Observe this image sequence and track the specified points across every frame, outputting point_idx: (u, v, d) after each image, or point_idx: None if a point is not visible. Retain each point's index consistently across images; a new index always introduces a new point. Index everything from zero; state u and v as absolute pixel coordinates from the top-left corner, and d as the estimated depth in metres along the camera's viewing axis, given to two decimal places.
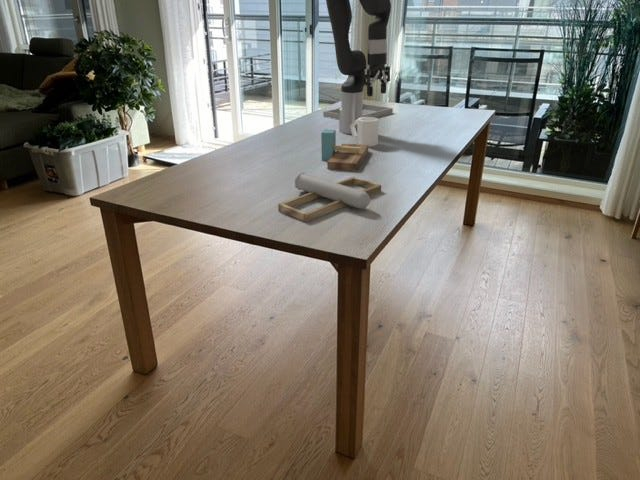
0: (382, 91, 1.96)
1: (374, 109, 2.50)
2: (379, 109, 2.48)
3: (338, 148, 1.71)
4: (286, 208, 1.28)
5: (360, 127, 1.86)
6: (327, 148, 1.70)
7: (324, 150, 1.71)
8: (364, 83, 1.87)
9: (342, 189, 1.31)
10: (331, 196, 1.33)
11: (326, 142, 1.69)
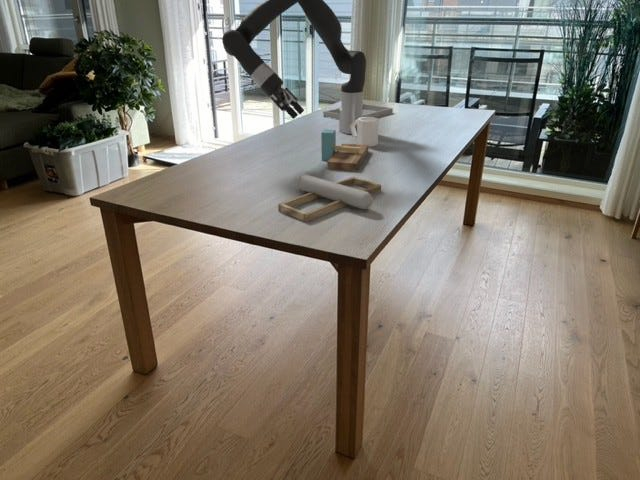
0: None
1: (374, 109, 2.50)
2: (379, 109, 2.48)
3: (338, 148, 1.71)
4: (286, 208, 1.28)
5: (360, 127, 1.86)
6: (327, 148, 1.70)
7: (324, 150, 1.71)
8: None
9: (344, 190, 1.30)
10: (333, 197, 1.33)
11: (326, 142, 1.69)
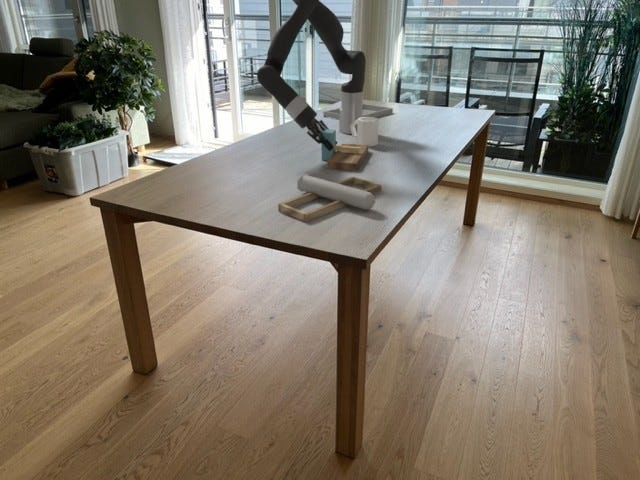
0: None
1: (374, 109, 2.50)
2: (379, 109, 2.48)
3: (338, 148, 1.71)
4: (286, 208, 1.28)
5: (360, 127, 1.86)
6: None
7: (324, 150, 1.71)
8: None
9: (347, 190, 1.30)
10: (335, 197, 1.32)
11: None
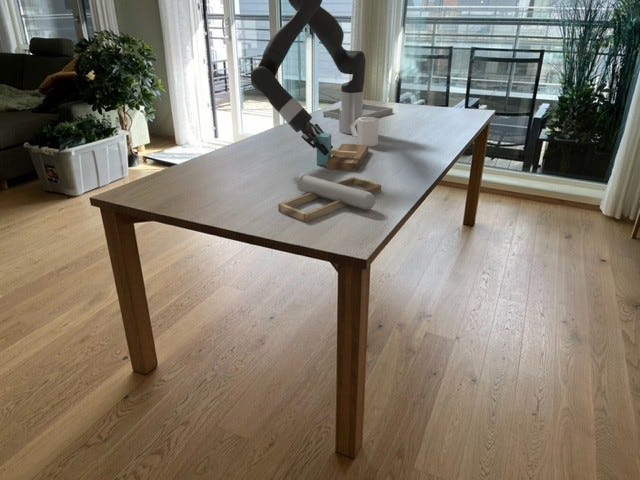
0: None
1: (374, 109, 2.50)
2: (379, 109, 2.48)
3: (334, 152, 1.66)
4: (286, 208, 1.28)
5: (360, 127, 1.86)
6: None
7: (319, 155, 1.65)
8: None
9: (347, 190, 1.30)
10: (335, 197, 1.32)
11: None
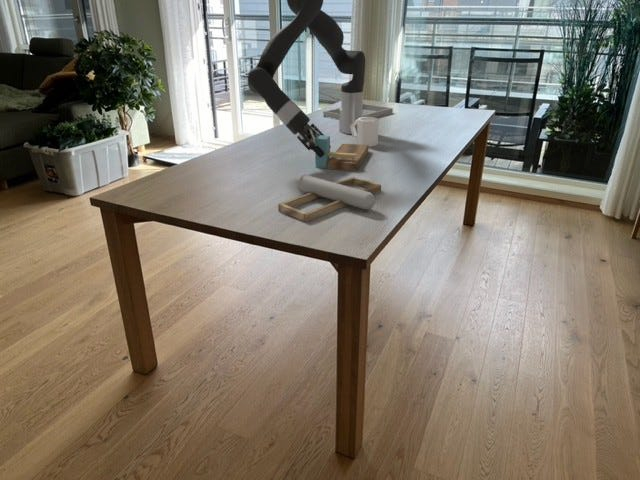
0: None
1: (374, 109, 2.50)
2: (379, 109, 2.48)
3: (333, 155, 1.63)
4: (286, 208, 1.28)
5: (360, 127, 1.86)
6: None
7: (318, 157, 1.63)
8: None
9: (347, 190, 1.30)
10: (336, 197, 1.32)
11: None
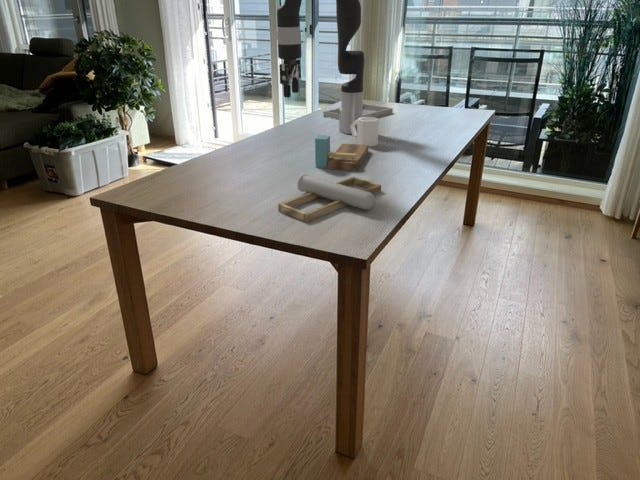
0: None
1: (374, 109, 2.50)
2: (379, 109, 2.48)
3: (333, 155, 1.63)
4: (286, 208, 1.28)
5: (360, 127, 1.86)
6: (321, 155, 1.62)
7: (318, 157, 1.63)
8: None
9: (347, 190, 1.30)
10: (336, 197, 1.32)
11: (320, 148, 1.62)
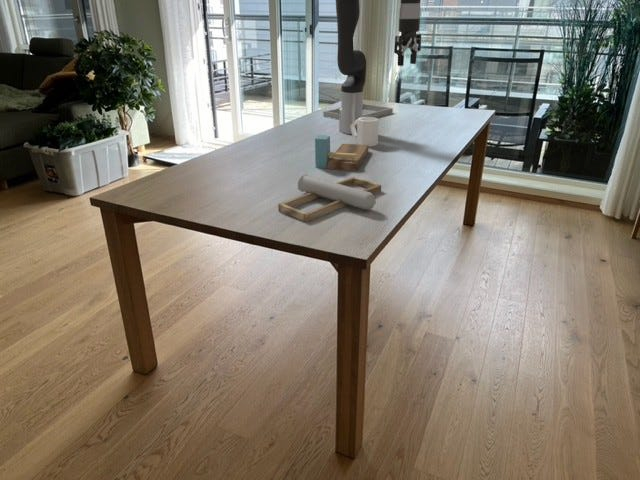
0: None
1: (374, 109, 2.50)
2: (379, 109, 2.48)
3: (333, 155, 1.63)
4: (286, 208, 1.28)
5: (360, 127, 1.86)
6: (321, 155, 1.62)
7: (318, 157, 1.63)
8: None
9: (347, 190, 1.30)
10: (336, 197, 1.32)
11: (320, 148, 1.62)
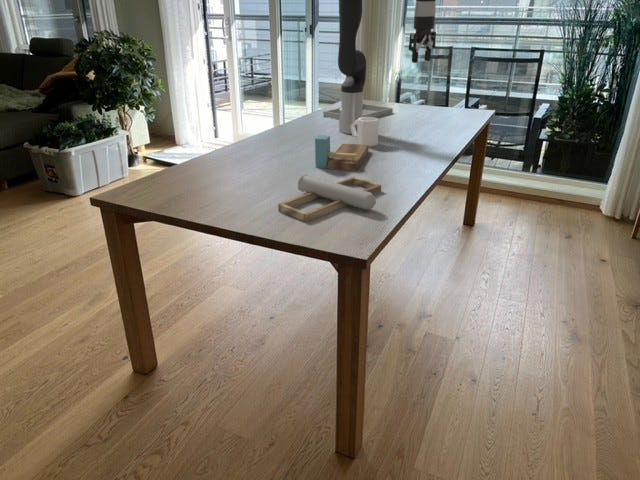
0: None
1: (374, 109, 2.50)
2: (379, 109, 2.48)
3: (333, 155, 1.63)
4: (286, 208, 1.28)
5: (360, 127, 1.86)
6: (321, 155, 1.62)
7: (318, 157, 1.63)
8: None
9: (347, 190, 1.30)
10: (336, 197, 1.32)
11: (320, 148, 1.62)
